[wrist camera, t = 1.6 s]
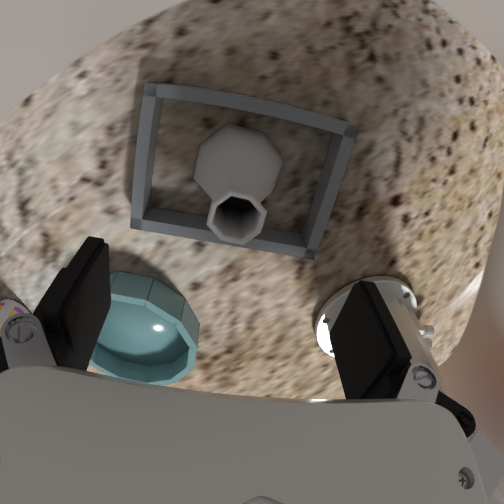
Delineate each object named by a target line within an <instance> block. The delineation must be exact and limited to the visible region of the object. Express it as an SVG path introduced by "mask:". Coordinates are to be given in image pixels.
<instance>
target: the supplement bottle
mask: <svg viewBox="0 0 504 504" xmlns="http://www.w3.org/2000/svg"><path fill="white" fill-rule="evenodd" d="M18 313H29V314H30V312H29V311H28V310H27V309H26V308H25V307H24V306H22V305H21V304H20V303H18V302H16V301H14V300H10V299H5V300H2V301H1V302H0V336H1V328H2V325H3V324H4V322H5V321H6V320H7V319H8V318H9V317H11V316H13V315H15V314H18Z"/></svg>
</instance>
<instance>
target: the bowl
mask: <svg viewBox="0 0 504 504" xmlns="http://www.w3.org/2000/svg"><path fill="white" fill-rule="evenodd" d="M110 289H111V306H110V310H109V312H108V315H107V317H106V320H105V322H104V325H103V327H102V330H101V332H100V335H99V337H98V340H97V343H96V345H95V348H94V351H93V353H92V356H91V359H90V362H89V363H90V365H92V366H93V367H95V368H97V369H98V370H100V371H102V372H104V373H106V374H107V375H109V376H112V377H117V378H122V379H127V380H133V381H138V382H143V383H149V384H155V385H164V384H171V383H176V382H177V381H178V380H180V379H181V378H183V377H184V376H185V375H187V374H188V373H189V372H191V371H192V370H193V369H194V364H195V357H196V351H197V344H198V335H199V327H200V323H199V322H198V320H197V318H196V316H195V315H194V313H193V311H192V309H191V308H190V306H189V304H188V302H187V301H186V299H185V298H184V297H182V296H181V295H179V294H178V293H176V292H175V291H173V290H172V289H170V288H169V287H167V286H166V285H164V284H163V283H161V282H160V281H158V280H157V279H154V278H152V277H146V276H141V275H135V274H130V273H125V272H118V271H117V272H114V273H111V274H110Z"/></svg>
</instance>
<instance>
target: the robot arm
mask: <svg viewBox="0 0 504 504" xmlns="http://www.w3.org/2000/svg"><path fill="white" fill-rule="evenodd" d="M110 306H111V289H110V272H109V246H108V244H107V243H104V239H102V238H96V237H90V236H89V237H88V238H87V239H86V240H85V242H84V243H83V244H82V246H81V247H80V249H79V250H78V252H77V253H76V254H75V256H74V257H73V259H72V260H71V262H70V263H69V265H68V266H67V268H62V269H61V270H60V272H59V273H58V275H57V276H56V278H55V279H54V281H53V282H52V284H51V285H50V287H49V288H48V290H47V291H46V293H45V295H44V296H43V298H42V299H41V301H40V303H39V304H38V306H37V307H36V309H35V311H34V312H33V314H29V313H18V314H15V315H13V316H11V317H9V318H8V319H7V320H6V321H5V322H4V324H3V325H2V328H1V336H0V504H504V501H503V499H502V497H501V495H500V493H499V492H498V490H497V488H496V487H497V485H498V483H499V481H500V480H501V478H502V476H503V474H504V457H503V456H502V454H501V453H500V452H499V451H498V450H497V449H496V447H494V445H493V444H492V443H491V442H490V441H489V440H488V439H487V438H486V437H485V435H484V434H483V433H482V432H481V431H480V430H477V431H475V427H476V423H475V419H474V417H473V415H472V414H471V413H470V411H468V410H467V409H466V408H465V407H463V406H461V405H460V404H458V403H457V402H456V401H454V399H453V397H452V395H451V393H450V390H449V388H448V386H447V384H446V382H445V380H444V378H443V376H442V374H441V372H440V370H439V368H438V366H437V364H436V362H435V360H434V358H433V356H432V354H431V352H430V350H431V348H432V341H431V339H430V338H423V337H422V336H432V335H433V333H434V327H433V326H432V325H421V324H420V322H419V321H418V319H417V317H416V313H417V301H416V297H415V295H414V293H413V292H412V290H411V289H410V287H409V286H408V285H407V284H406V283H405V282H403V281H402V280H399V279H397V278H395V277H389V276H374V277H368V278H364V279H361V280H358V281H355V282H353V283H351V284H349V285H347V286H345V287H344V288H342V289H341V290H339V291H338V292H336V293H335V294H334V295H333V296H332V297H331V298H330V299H329V300H327V302H326V303H325V304H324V306H323V307H322V308H321V310H320V312H319V314H318V316H317V319H316V322H315V334H316V339H317V342H318V344H319V346H320V347H321V349H322V350H323V351H324V352H326V353H327V354H329V355H331V356H333V357H335V360H336V364H337V368H338V371H339V375H340V378H341V382H342V386H343V389H344V393H345V397H346V399H342V400H341V399H340V400H328V399H287V398H268V397H253V396H241V395H230V394H220V393H211V392H203V391H195V390H187V389H180V388H173V387H167V386H161V385H155V384H149V383H143V382H138V381H133V380H127V379H122V378H117V377H112V376H107V375H102V374H98V373H93V372H88V371H86V370H87V367H88V365H89V362H90V359H91V356H92V353H93V351H94V348H95V345H96V343H97V340H98V337H99V335H100V332H101V330H102V327H103V325H104V322H105V320H106V317H107V315H108V312H109V310H110Z"/></svg>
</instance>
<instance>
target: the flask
mask: <svg viewBox="0 0 504 504" xmlns="http://www.w3.org/2000/svg"><path fill="white" fill-rule="evenodd" d="M283 160H284V159H283V157H282V156H281V155H280V153H279V152H278V151H277V149H276V148H275V147H274V145H273V144H272V143H271V142H270V140H269V139H268V138H267V137H266V135H265V134H264V133H263V132H261V131H258V130H254V129H250V128H246V127H242V126H238V125H234V124H230V123H227V124H226V125H224V126H223V127H222V128H220V129H219V130H218V131H217V132H215V133H214V134H213V135H212V136H210V137H209V138H208V139H207V140H205V141H204V142H203V143H202V144H200V146H199V150H198V155H197V159H196V163H195V168H194V172H193V179H194V180H195V181H196V182H197V183H198V184H199V185H200V187H201V188H202V189H203V190H204V191H205V192H206V193H207V194H208V195H209V197H210V198H211V200H212V202H211V206H210V210H209V214H208V218H207V222H206V225H207V226H208V227H209V228H210V229H211V230H212V231H213V232H214V233H215V235H216V236H217V237H218V238H219V239H220V240H222V241H226V242H231V243H235V244H240V245H244V244H245V243H247V242H248V241H249V240H251V239H252V238H254V237H255V236H257V235H258V234H260V233H261V230H262V227H263V224H264V221H265V218H266V215H267V211H266V209H265V208H264V207H263V206H262V205H261V202H262V201H263V200H264V198H265V197H267V196H268V195H269V194H270V193H271V192H272V191H273V190H274V188H275V185H276V182H277V179H278V175H279V172H280V169H281V166H282V163H283Z"/></svg>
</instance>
